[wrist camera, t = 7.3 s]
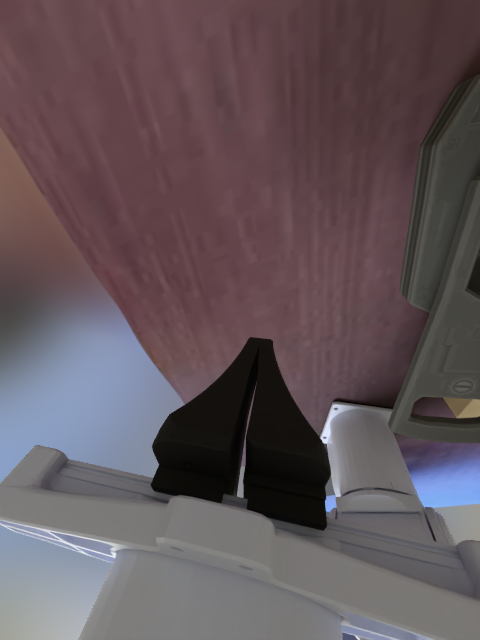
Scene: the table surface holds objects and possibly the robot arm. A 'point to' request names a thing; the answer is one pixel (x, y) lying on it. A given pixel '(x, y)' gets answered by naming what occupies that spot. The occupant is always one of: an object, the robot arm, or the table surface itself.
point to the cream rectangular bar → (464, 407)
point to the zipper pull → (445, 271)
